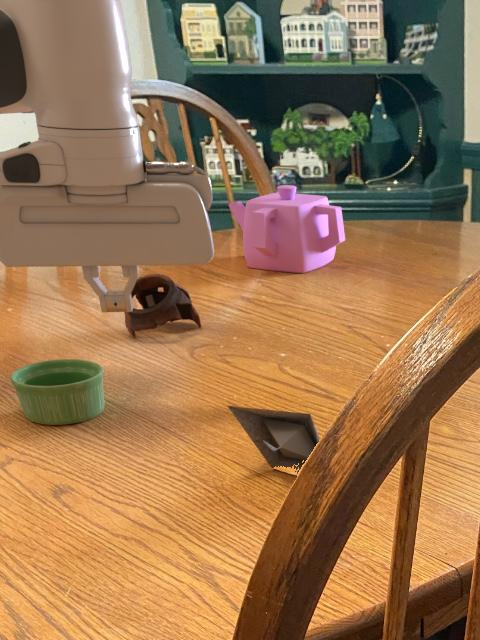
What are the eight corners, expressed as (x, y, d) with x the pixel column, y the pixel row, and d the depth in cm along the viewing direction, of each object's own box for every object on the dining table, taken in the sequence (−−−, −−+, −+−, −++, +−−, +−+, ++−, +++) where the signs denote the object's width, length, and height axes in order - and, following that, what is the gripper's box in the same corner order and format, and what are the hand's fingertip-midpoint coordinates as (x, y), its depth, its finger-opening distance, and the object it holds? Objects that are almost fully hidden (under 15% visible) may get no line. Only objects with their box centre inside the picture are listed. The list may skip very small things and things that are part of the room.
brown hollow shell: (219, 334, 122) (194, 287, 115) (162, 374, 121) (133, 329, 113) (175, 293, 128) (148, 246, 121) (120, 331, 126) (90, 286, 119)
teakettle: (259, 277, 148) (252, 195, 141) (230, 256, 161) (222, 180, 154) (355, 269, 155) (353, 190, 148) (321, 249, 167) (317, 176, 161)
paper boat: (369, 448, 87) (350, 462, 78) (332, 501, 89) (310, 520, 80) (265, 372, 86) (235, 377, 77) (230, 427, 88) (196, 438, 79)
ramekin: (102, 426, 93) (94, 385, 90) (10, 429, 92) (-1, 387, 89) (116, 396, 100) (109, 357, 98) (31, 399, 99) (21, 359, 97)
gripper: (209, 157, 89) (222, 301, 96) (-16, 154, 85) (16, 304, 92) (208, 166, 84) (223, 317, 91) (-31, 163, 80) (4, 321, 87)
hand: (117, 310), depth 92 cm, fingers closed
